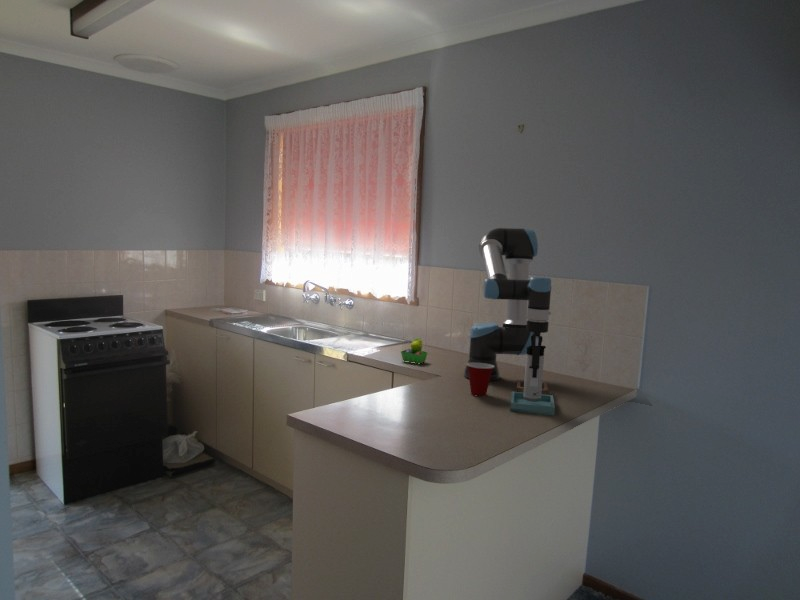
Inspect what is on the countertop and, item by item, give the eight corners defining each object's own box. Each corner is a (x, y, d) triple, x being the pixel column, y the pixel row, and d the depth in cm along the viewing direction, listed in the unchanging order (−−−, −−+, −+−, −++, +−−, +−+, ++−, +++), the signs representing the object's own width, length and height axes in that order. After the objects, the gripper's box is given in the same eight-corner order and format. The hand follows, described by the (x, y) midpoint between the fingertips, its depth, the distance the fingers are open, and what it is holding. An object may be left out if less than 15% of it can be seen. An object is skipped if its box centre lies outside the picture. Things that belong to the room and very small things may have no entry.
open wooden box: (516, 397, 216) (516, 387, 215) (516, 389, 227) (517, 380, 227) (547, 400, 213) (548, 390, 213) (546, 392, 225) (546, 382, 224)
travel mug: (538, 403, 200) (542, 347, 198) (520, 399, 203) (524, 345, 201) (544, 399, 205) (548, 345, 203) (526, 395, 209) (530, 342, 206)
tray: (510, 411, 199) (510, 402, 199) (511, 399, 214) (511, 391, 213) (554, 415, 196) (554, 407, 195) (552, 403, 210) (552, 395, 210)
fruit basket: (399, 361, 268) (400, 338, 266) (409, 358, 275) (409, 336, 274) (420, 365, 262) (421, 341, 260) (429, 362, 269) (430, 339, 268)
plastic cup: (496, 392, 221) (498, 363, 220) (488, 399, 212) (490, 368, 210) (469, 388, 226) (471, 359, 224) (460, 395, 216) (462, 364, 215)
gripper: (549, 325, 191) (545, 391, 194) (547, 317, 209) (543, 378, 212) (527, 323, 192) (522, 389, 195) (527, 316, 211) (523, 376, 214)
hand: (533, 383), depth 204 cm, fingers closed on travel mug, 6 cm apart
